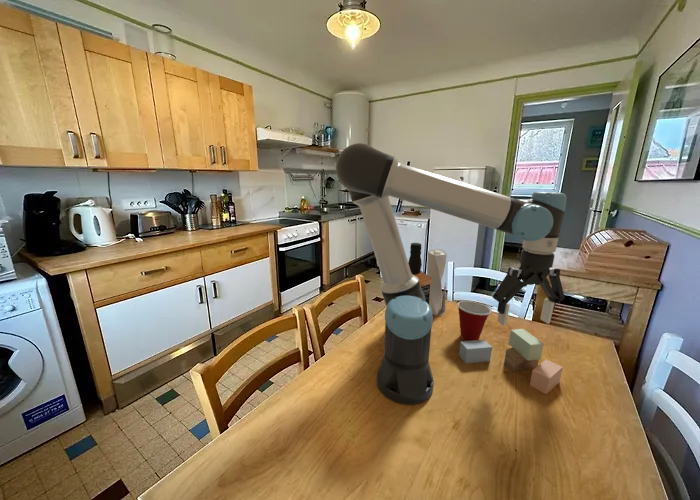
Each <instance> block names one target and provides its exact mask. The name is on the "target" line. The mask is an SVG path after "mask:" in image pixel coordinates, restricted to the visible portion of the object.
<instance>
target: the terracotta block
mask: <svg viewBox="0 0 700 500" xmlns="http://www.w3.org/2000/svg"><path fill="white" fill-rule="evenodd" d="M563 368H564V367H563V366H561V365H559V364H558V363H555V362H553V361H550V360H549V359H545V360H543V361H542V362H541V363H539V364H538V366H537V367H536V368H532V372H531V375H530V376H531V377H530V383H529V386H530V387H532V388H533V389H535V390H538V391H540V392H541V393H543V394H545V395H547V394H549V392H551V391H552V390H553V389H554V388H555V387H556V386H557V385H559V383H560V381H561V377H562V372H563Z"/></svg>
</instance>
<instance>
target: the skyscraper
mask: <svg viewBox="0 0 700 500" xmlns="http://www.w3.org/2000/svg"><path fill="white" fill-rule="evenodd" d="M447 256H448V254H447V251H446V250H443V248H442V249H440V248H436V249H429V250H428V251H427V260H426V261H427V263H426V274H427V275H428V276H430V277H431V279H432V281H431V284H430V296H429V306H430V307H431V310H432V316H437V317H440V318H441V317H443V315H444V314H445V312H446V303H447V286H446V285H447V283H446V282H444V287H442V286H443V285H442V280H443V276H444V272H445V269H446V264H447V258H448V257H447ZM442 289H443V291H442Z"/></svg>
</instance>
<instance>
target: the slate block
mask: <svg viewBox="0 0 700 500" xmlns="http://www.w3.org/2000/svg"><path fill="white" fill-rule="evenodd" d="M459 343H460V344H459V354H458V356H459V357H460V358H461V359H462V361H463V363H465V364H472V363H484V362H491V357H492V349H493V346H492V345H490V343H488V342H487V340H486V339H478V340H474V341H466V340H464V341H460V342H459Z"/></svg>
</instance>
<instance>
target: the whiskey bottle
mask: <svg viewBox="0 0 700 500" xmlns="http://www.w3.org/2000/svg"><path fill="white" fill-rule="evenodd" d="M409 248H410V249H409V250H410V251H409V253H410V255H409V258H408V264H409V267H410V270H411V274H412V275H414V276H417V277H418V279H419V282H420V285H421V289H422V292H423V293H424V295H425V299H426V302H427V303H428V304H429V296H430V284H431V281H432V279H431V277H430V276H428V275H427V273H425V272H424V271H422V270H421V269H422V265H423V264H422V258H421V254H422V244H421V243H419V242H412V243H410V247H409Z"/></svg>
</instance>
